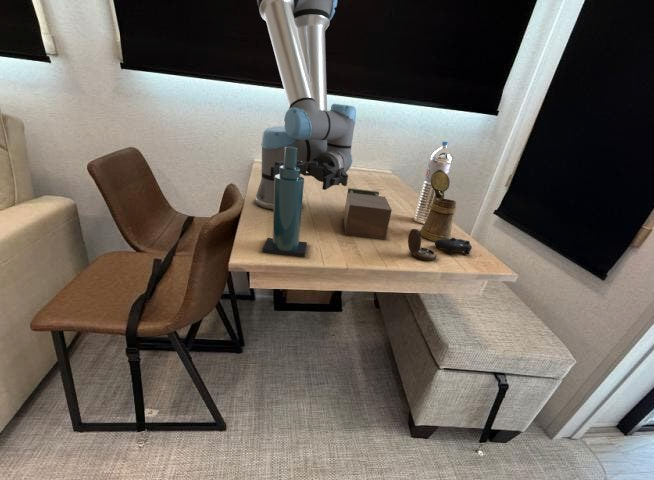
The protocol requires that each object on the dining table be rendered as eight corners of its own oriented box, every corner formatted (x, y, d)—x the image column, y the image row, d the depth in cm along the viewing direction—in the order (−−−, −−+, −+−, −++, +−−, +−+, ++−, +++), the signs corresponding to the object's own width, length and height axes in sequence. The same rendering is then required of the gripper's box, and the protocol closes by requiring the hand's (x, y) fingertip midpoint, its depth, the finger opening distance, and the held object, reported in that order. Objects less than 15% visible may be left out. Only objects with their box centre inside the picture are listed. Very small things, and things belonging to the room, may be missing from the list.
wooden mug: (436, 227, 109) (454, 170, 99) (454, 243, 97) (476, 180, 88) (411, 225, 107) (426, 167, 98) (426, 241, 96) (446, 177, 86)
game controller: (461, 242, 96) (475, 234, 90) (464, 259, 95) (478, 252, 89) (432, 241, 94) (444, 233, 88) (435, 259, 93) (447, 252, 87)
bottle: (274, 239, 82) (278, 143, 71) (299, 242, 82) (307, 147, 71) (270, 249, 77) (273, 147, 65) (297, 252, 77) (305, 151, 65)
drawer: (344, 204, 117) (347, 184, 113) (373, 207, 117) (377, 188, 113) (346, 219, 102) (349, 197, 99) (379, 223, 103) (383, 201, 99)
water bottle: (428, 226, 108) (453, 144, 95) (409, 220, 112) (431, 140, 98) (436, 222, 113) (460, 143, 100) (417, 216, 117) (438, 139, 103)
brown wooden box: (343, 219, 105) (347, 192, 100) (379, 223, 105) (385, 196, 101) (344, 234, 93) (349, 204, 89) (385, 239, 94) (391, 209, 89)
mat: (267, 241, 83) (267, 237, 83) (306, 245, 83) (307, 242, 83) (262, 252, 77) (262, 248, 77) (304, 257, 78) (304, 253, 77)
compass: (440, 261, 84) (449, 235, 80) (411, 260, 83) (419, 233, 79) (426, 248, 91) (434, 223, 87) (400, 247, 89) (406, 222, 86)
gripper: (366, 187, 94) (345, 204, 76) (287, 172, 100) (251, 184, 82) (371, 159, 90) (350, 170, 73) (288, 145, 96) (251, 152, 79)
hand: (297, 178), depth 77 cm, fingers open, 13 cm apart
